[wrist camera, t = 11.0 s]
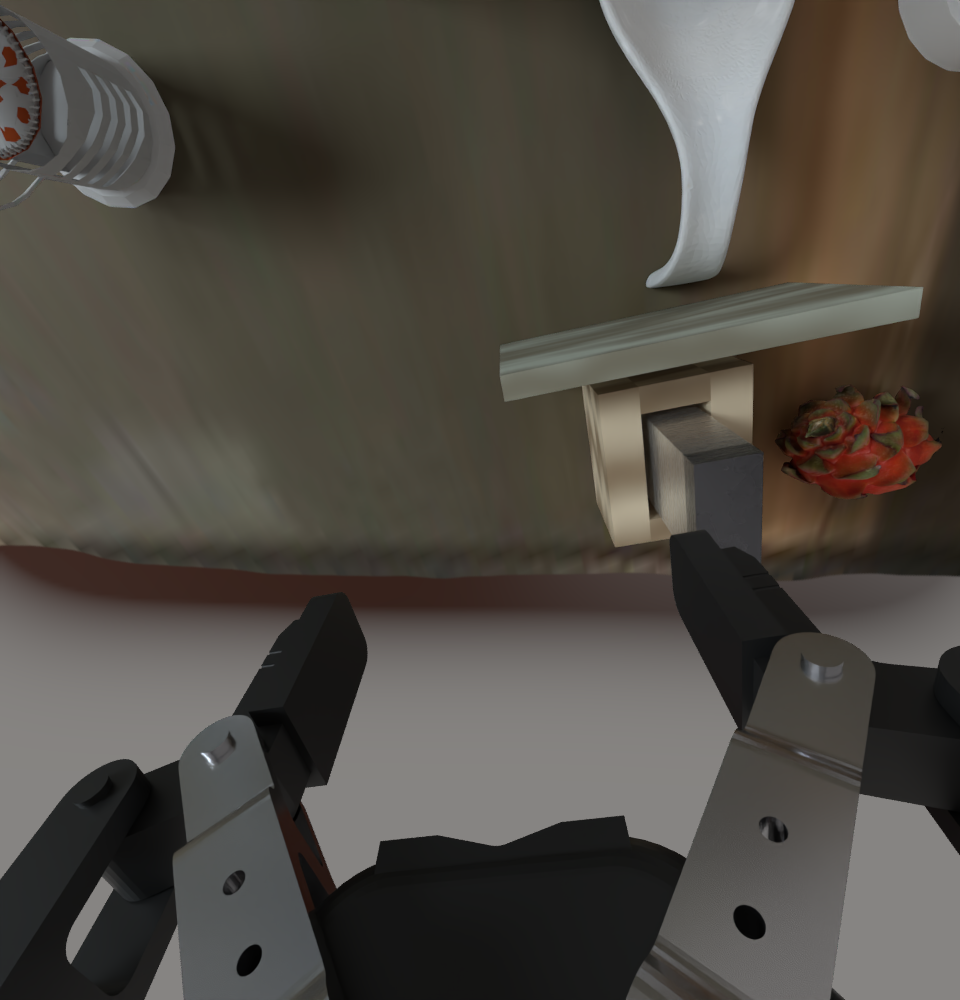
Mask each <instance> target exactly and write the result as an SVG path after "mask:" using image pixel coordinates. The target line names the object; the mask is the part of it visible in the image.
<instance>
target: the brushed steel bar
mask: <svg viewBox="0 0 960 1000" xmlns="http://www.w3.org/2000/svg"><path fill="white" fill-rule="evenodd" d="M641 422H642V434H643V447H644V459H645V472H646V484H647V496H648V499H649V500H650V502H651V503H652V505H653V506H654V508H655V509H656V511H657V513H658V514H659V516H660V517H661V519H662V520H663V522H664V523H665V525H666V526H667V528H668V529H669V531H670V533H671V534H672V535H675V534H680V533H686V532H692V531H697V530H703V529H704V530H706V531H707V532H708V533H709V534H710V535H711V537H712V538H713V539H714V541H715V542H716V543H717V544H718V546H719V547H720V548H721V549H722V548H728V547H734V546H735V547H737V548H738V549H740V550H742V551H744V552H746V553H748V554H750V555H752V556H754V557H755V558H756V559H757V560H758V561H759V562H760V563H761V543H762V496H763V452H762V451H761V450H759V449H758V448H756V447H755V446H753V445H752V444H750V443H749V442H747V441H746V440H745V439H743V438H742V437H740V436H739V435H737V434H736V433H734V432H733V431H731V430H730V429H728V428H727V427H726V426H724V425H723V424H721V423H720V422H718V421H717V420H715V419H714V418H712V417H711V416H710V415H708V414H707V413H705V412H704V411H702V410H701V409H699V408H698V407H696V406H695V405H693V404H692V405H687V406H682V407H677V408H671V409H666V410H661V411H656V412H651V413H645V414H641Z"/></svg>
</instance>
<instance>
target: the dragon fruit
mask: <svg viewBox="0 0 960 1000" xmlns="http://www.w3.org/2000/svg"><path fill="white" fill-rule="evenodd" d="M835 389H836V392H837V393H836V395H835V396H834V398H833V399H832V400H829V401H827V402H826V401H813V400H810V401H808V402H806V403H804V404H803V405H801V406H800V407H799V413H798V416H797V417H795V419H794V421H793V422H792V424H791V429H787V430H781V432H780V434H778V437H777V439H776V440H775V443H776V444H777V445H778V446H779V448H780V449H781V450H782V452H783V453H784V454H785V455H787V456H790V457H792V458H793V459H792V460H791V461H790V462H785V463H784V464H783V467H782V469H781V471H782V472H784V473H785V474H787V475H789V476H791V477H793V478H795V479H798V480H800V481H802V482H804V483H807V484H814V483H816V484H818V485H819V486H820V487H821V489H822V490H823V491H825V492H826V493H828V494H829V495H831V496H833V497H836V498H840V499H860V498H864V497H867V495H866V493H871V494H882V493H885V492H890V491H894V490H898V489H902V488H905V487H907V486H909V485H910V484H912V483H914V482H915V481H916V477H915V473H916V472H917V471H918V469H919V467H920V466H921V464H923V463H925V462H927V461H929V460H930V458H931V456H932V455H933V453H934V452H936V451H938V449H939V448H941V446H942V444H941V442H939V438H937V440H935V441H934V439H933V438H932V436H931V435H929V434H928V421H926V420H925V419H924V418H922V412H923V408H924V407H923V406H918V407H917V408H916V410H915V416H911V415H906V414H907V413H908V411H909V409H910V406H911V398H914V399H918V400H919V397H920V396H919V395H918V394H917V393H916V392H914V391H913V390H912V389H909V388H907V387H904V386H901V389H900V391H899V392H898V393H897V395H896V397H895V399H894V398H893V397H892V396H891V395H890V394H889V393H888V392H883V393H879V394H877V395H876V396H874V397H873V399H871V400H866V401H864V398H863V396H862V395H861V393H860V392H859V391H857V390H856V388H855V387H854V386H852V385H845V386H839V387H837V388H835ZM943 429H944V428H943ZM942 433H943V431H942Z"/></svg>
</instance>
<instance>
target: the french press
mask: <svg viewBox="0 0 960 1000" xmlns="http://www.w3.org/2000/svg"><path fill="white" fill-rule="evenodd" d="M5 15H10V16H12V17H14V18H16V19H18V20H20V21H5V22H3V21H2V20H1V19H0V160H9V159H12V160H11V161H10V162H9V163H8V164H4V163H0V166H1V167H3V169H2V170H1V172H0V180H2V179H3V178H4V177H5V176H6V174H7V173H8V172H9V171H10V170H12V171H17V172H21V173H26V174H31V175H36V176H39V177H38V178H37V179H36V180H35V181H34V182H33V183H32V184H31V186H30V187H29V188H28V189H27V190H26V191H25V192H24V193H23V194H22V195H21V196H19V197H18V198H17V199H16V200H14V201H13V202H11V203H8V204H5V205H2V206H0V210H3V209H7V208H10V207H14V206H17V205H18V204H19V203H21V202H22V201H24V200H25V199H27V198H28V197H29V196H30V195H31V194H32V193H33V192H34V190H35V189H36V188H37V187H38V186H39V184H40V183H41V182H42V181H43V180H45V179H48V180H53V181H58V182H64V183H69V184H73V185H74V186H75V187H76V188H77V189H79V190H80V191H81V192H82V193H83V194H84V195H86V196H88V197H90V198H93V199H95V200H97V201H99V202H101V203H103V204H105V205H107V206H109V207H125V208H136V207H138V206H140V205H142V204H144V203H147V202H149V201H151V200H153V199H155V198H157V196H158V195H159V193H160V192H161V190H162V189H163V187H164V186H165V184H166V183H167V181H168V180H169V178H170V177H171V171H172V165H173V159H174V153H175V143H174V138H173V132H172V126H171V121H170V115H169V113H168V111H167V109H166V107H165V105H164V103H163V101H162V99H161V97H160V95H159V93H158V91H157V89H156V87H155V85H154V83H153V81H152V80H151V79H150V78H149V77H148V76H147V75H146V73H145V72H144V71H143V70H142V69H141V68H140V67H139V66H138V65H137V64H136V63H135V62H134V61H133V60H132V58H131V57H130V56H129V55H128V54H126V53H124V52H122V51H120V50H118V49H116V48H114V47H113V46H111V45H109V44H107V43H105V42H103V41H101V40H99V39H84V38H69V39H67V40H65V39H64V38H62V37H60V36H58V35H56V34H54V33H52V32H50V31H48V30H47V29H45V28H43V27H41V26H39V25H37V24H35V23H33V22H31V21H30V20H28V19H26V18H24V17H22V16H20V15H18V14H16V13H14V12H13V11H11V10H9V9H7V8H5V7H3V6H1V5H0V16H5ZM25 26H27V27H28V28H29V29H30V30H31V31H24V32H21V33H18V34H14V33H13V31H12V30H11V29H12V28H15V27H25ZM32 37H37V38H38V40H39V42H36V43H33V44H30V45H27V46H25V47H22V46H21V44H20V41H23V40H26V39H29V38H32ZM42 48H45V49H46V51H47V52H46V53H45V54H43V55H40V56H38V57H36V58H35V59H33V60H32V61H30V59H29V58H28V56H27V55H29V54H31V53H32V52H34V51H37V50H40V49H42ZM17 162H24V163H29V164H33V165H38V166H43V167H40V168H37V169H34V170H31V169H27V168H22V167H17V166H14V165H15V164H16V163H17ZM58 172H61V173H62V174H63V175H64V176H59V175H55V174H57V173H58Z"/></svg>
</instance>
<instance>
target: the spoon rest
mask: <svg viewBox="0 0 960 1000" xmlns="http://www.w3.org/2000/svg"><path fill="white" fill-rule="evenodd" d="M599 1H600V5H601V8H602V10H603V13H604V16H605V18H606V21H607V23H608V25H609V27H610V29H611V31H612V33H613V35H614V37H615V39H616V41H617V42H618V44H619V46H620V48H621V49H622V51H623V53H624V54H625V56H626V57H627V59H628V61H629V62H630V64H631V65H632V67H633V68H634V70H635V71H636V72H637V74H638V75H639V77H640V78H641V80H642V81H643V83H644V84H645V86H646V87H647V89H648V90H649V92H650V93H651V95H652V96H653V98H654V100H655V101H656V103H657V105H658V107H659V108H660V110H661V112H662V114H663V115H664V117H665V119H666V121H667V124H668V126H669V128H670V131H671V133H672V136H673V138H674V141H675V143H676V147H677V151H678V155H679V160H680V165H681V174H682V211H681V222H680V229H679V235H678V240H677V244H676V247H675V250H674V252H673V254H672V257H671V258H670V260H669V262H668V263H667V264H666V265H665V266H664V267H662V268H661V269H659V270H657V271H655V272H653V273H652V274H651V275H650V276H649V277H648V279H647V282H646V286H647V287H648V288H658V287H665V286H673V285H679V284H685V283H691V282H697V281H702V280H707V279H710V278H713V277H714V276H716V275H717V274H718V273H719V272H720V270H721V268H722V265H723V263H724V260H725V257H726V254H727V250H728V246H729V242H730V238H731V234H732V229H733V225H734V221H735V216H736V212H737V207H738V202H739V197H740V192H741V187H742V182H743V177H744V171H745V165H746V159H747V153H748V147H749V141H750V136H751V131H752V124H753V119H754V115H755V111H756V107H757V104H758V100H759V97H760V94H761V91H762V88H763V85H764V82H765V79H766V76H767V73H768V71H769V68H770V66H771V63H772V61H773V58H774V56H775V53H776V51H777V48H778V46H779V43H780V41H781V38H782V35H783V33H784V30H785V27H786V25H787V22H788V19H789V16H790V14H791V11H792V8H793V5H794V2H795V0H599Z"/></svg>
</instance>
